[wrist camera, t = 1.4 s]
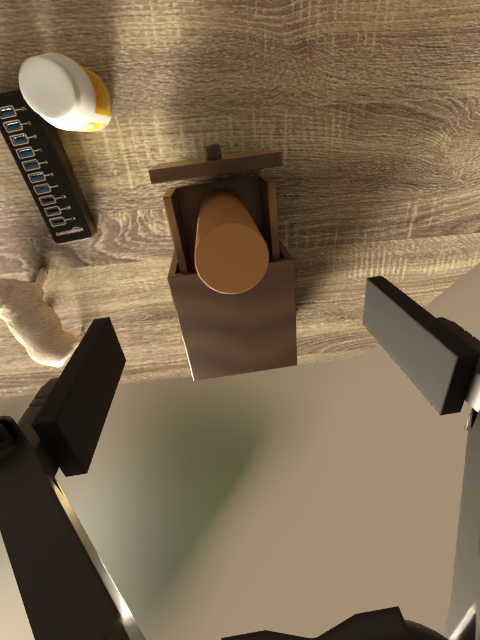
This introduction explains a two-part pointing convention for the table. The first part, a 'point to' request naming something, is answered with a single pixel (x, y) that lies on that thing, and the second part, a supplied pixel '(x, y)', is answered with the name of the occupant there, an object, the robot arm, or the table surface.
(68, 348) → the figurine
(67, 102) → the supplement bottle
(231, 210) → the brown cylinder
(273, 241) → the drawer
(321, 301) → the table surface
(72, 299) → the table surface
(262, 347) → the cabinet
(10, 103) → the multiport hub
